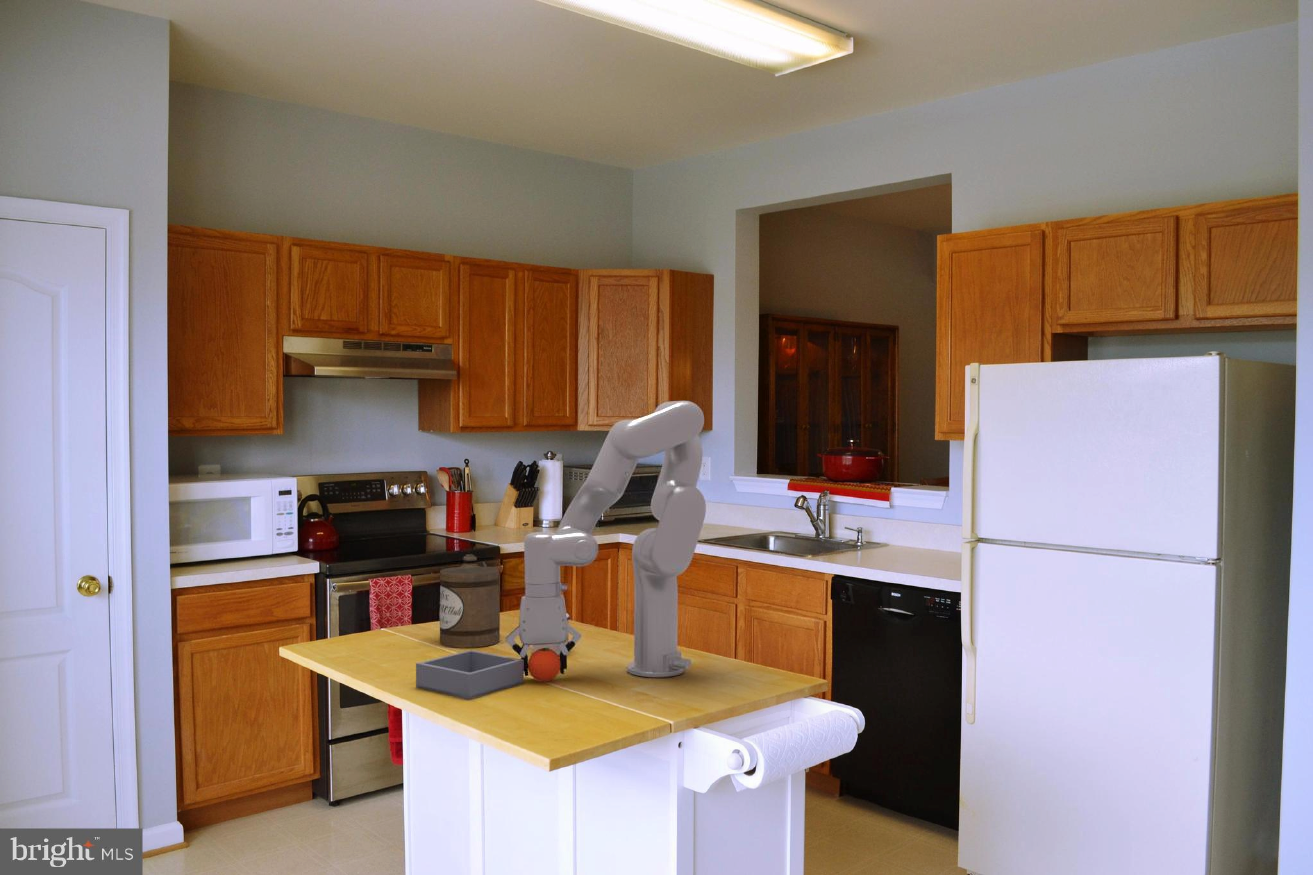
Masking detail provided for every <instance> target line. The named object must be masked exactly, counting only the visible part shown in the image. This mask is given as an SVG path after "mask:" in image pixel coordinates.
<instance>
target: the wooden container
mask: <svg viewBox="0 0 1313 875" xmlns="http://www.w3.org/2000/svg"><path fill="white" fill-rule="evenodd" d="M462 560H463V564H462V565H461V566H457V567H456V566H455V567H448V568H443V569H440V571H439V583H440V587H439V588H440V589H439V592H440V593H439V643H440V645H441V646H445V647H449V648H456V649H457V648H458V649H475V648H474V647H477V648H484V647H489V645H490V646H492V645H493V644H494V645H496V644H498V643H499V642H500V639H501V638H500V637H501V636H500V634H501V632H500V631H501V630H500V629H501V628H500V627H501V626H500V625H501V624H500V623H501V614H500V613H501V612H500V609H501V608H500V583H499V582H500V573H499V572H500V571H499V568H497V567H491V566H479V565H478V564H477V563H476V562H477V560H478V559H477V556H476V555H474V554H471V553H470V554H469V553H468V554H465V556H463V558H462ZM494 645H493V646H494Z"/></svg>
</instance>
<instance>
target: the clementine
mask: <svg viewBox="0 0 1313 875" xmlns="http://www.w3.org/2000/svg"><path fill="white" fill-rule="evenodd" d="M560 666H561V663H560V656H558V655H557V654H556V652H554V651H553V650H551V649H549V648H542V649H538V650H536V651H535V652H534V653H532V654H531V655H530V656H529V657H528V673H529V674H530V675H531V677H532V678H533V679H534V680H536V681H538V682H541V683H543V682H545V683H546V682H549V681H552V680H554V679H555V678H556V677H557V676H558V674H559V673H560Z"/></svg>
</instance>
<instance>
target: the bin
mask: <svg viewBox="0 0 1313 875" xmlns="http://www.w3.org/2000/svg"><path fill="white" fill-rule="evenodd" d="M524 677H525V674H524V660H522V659H521V658H517V657H511V656H510V657H509V656H504V655H500V654H494V653H489V652H483V651H479V650H473V649H469V650H465V651H462V652H457V653H453V654H449V655H444V656H440V657H436V658H432V659H428V660H425V661H424V660H423V661H421V662H416V663H415V688H416V689H420V690H425V691H429V692H434V693H437V694H438V693H439V694H443V695H447V696H452V697H456V698H461V699H465V700H473V699H477V698H479V697H480V698H481V697H482V696H486V695H490V694H495V693H497V692H500V691H502V690H507V689H510V688H512V687H513V688H514V687H517V686H520V685H523V684H524V682H525V681H524V679H525V678H524Z"/></svg>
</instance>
